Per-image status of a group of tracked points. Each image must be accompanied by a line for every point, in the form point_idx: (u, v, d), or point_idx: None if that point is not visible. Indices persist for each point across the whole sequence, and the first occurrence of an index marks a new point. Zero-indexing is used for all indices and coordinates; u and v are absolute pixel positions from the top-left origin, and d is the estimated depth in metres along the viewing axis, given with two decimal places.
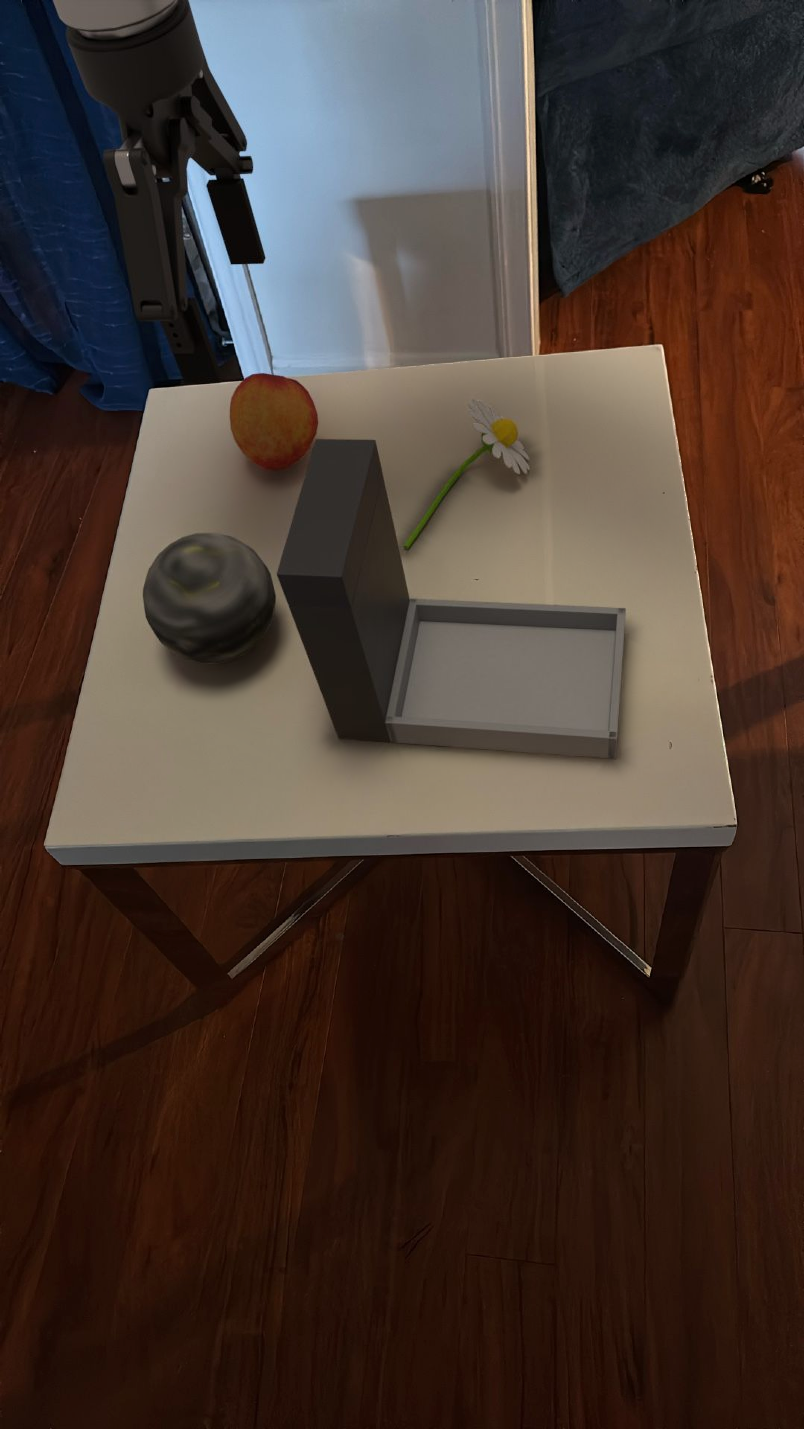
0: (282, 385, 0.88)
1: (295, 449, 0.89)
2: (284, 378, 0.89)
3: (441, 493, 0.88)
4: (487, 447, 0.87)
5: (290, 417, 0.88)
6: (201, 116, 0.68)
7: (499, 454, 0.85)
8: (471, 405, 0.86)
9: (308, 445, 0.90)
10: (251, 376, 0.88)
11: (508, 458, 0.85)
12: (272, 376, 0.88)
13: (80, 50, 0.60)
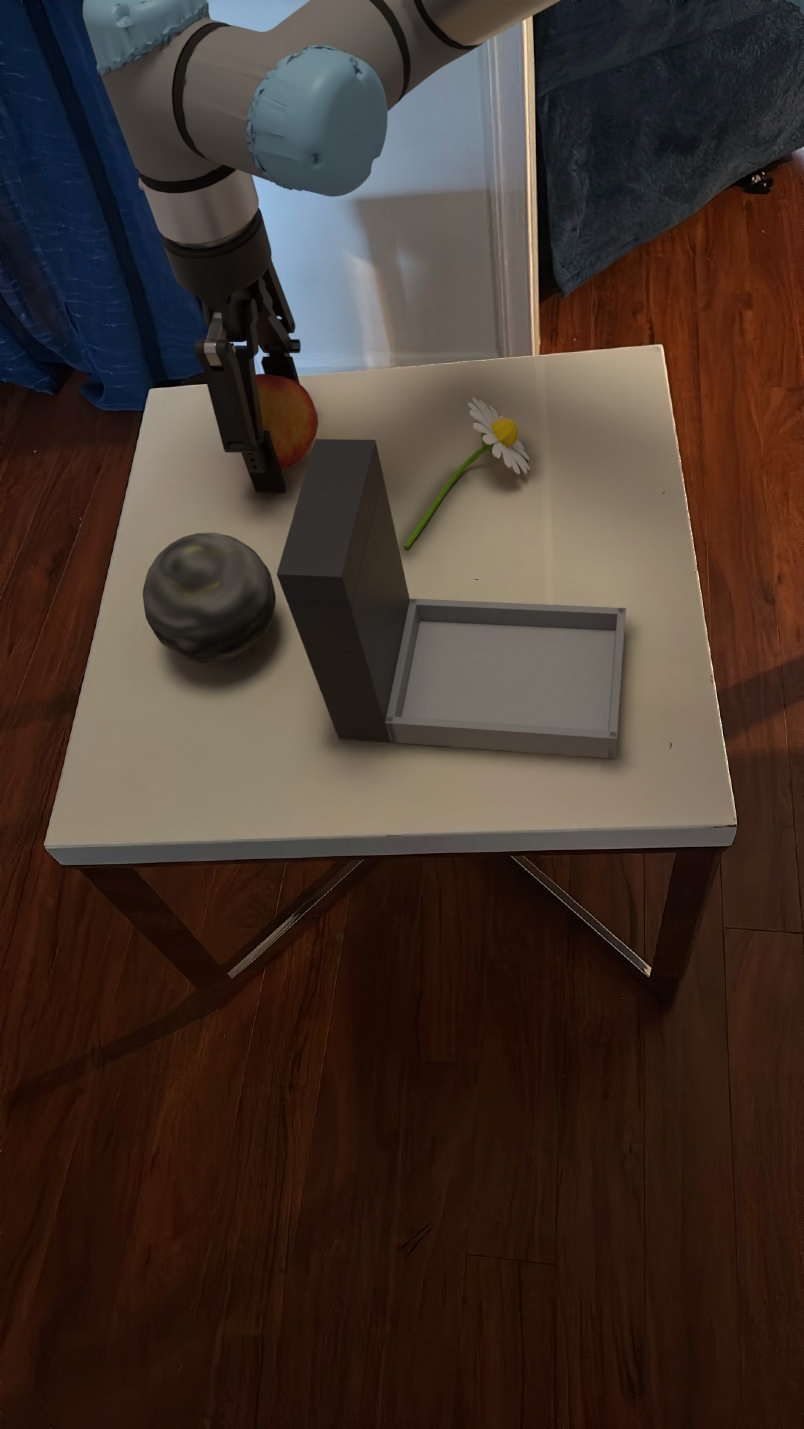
0: (281, 386, 0.88)
1: (295, 450, 0.89)
2: (284, 379, 0.89)
3: (441, 493, 0.88)
4: (487, 447, 0.87)
5: (290, 418, 0.87)
6: (265, 295, 0.82)
7: (499, 454, 0.85)
8: (471, 405, 0.86)
9: (308, 446, 0.90)
10: None
11: (508, 458, 0.85)
12: (272, 377, 0.88)
13: (175, 255, 0.74)
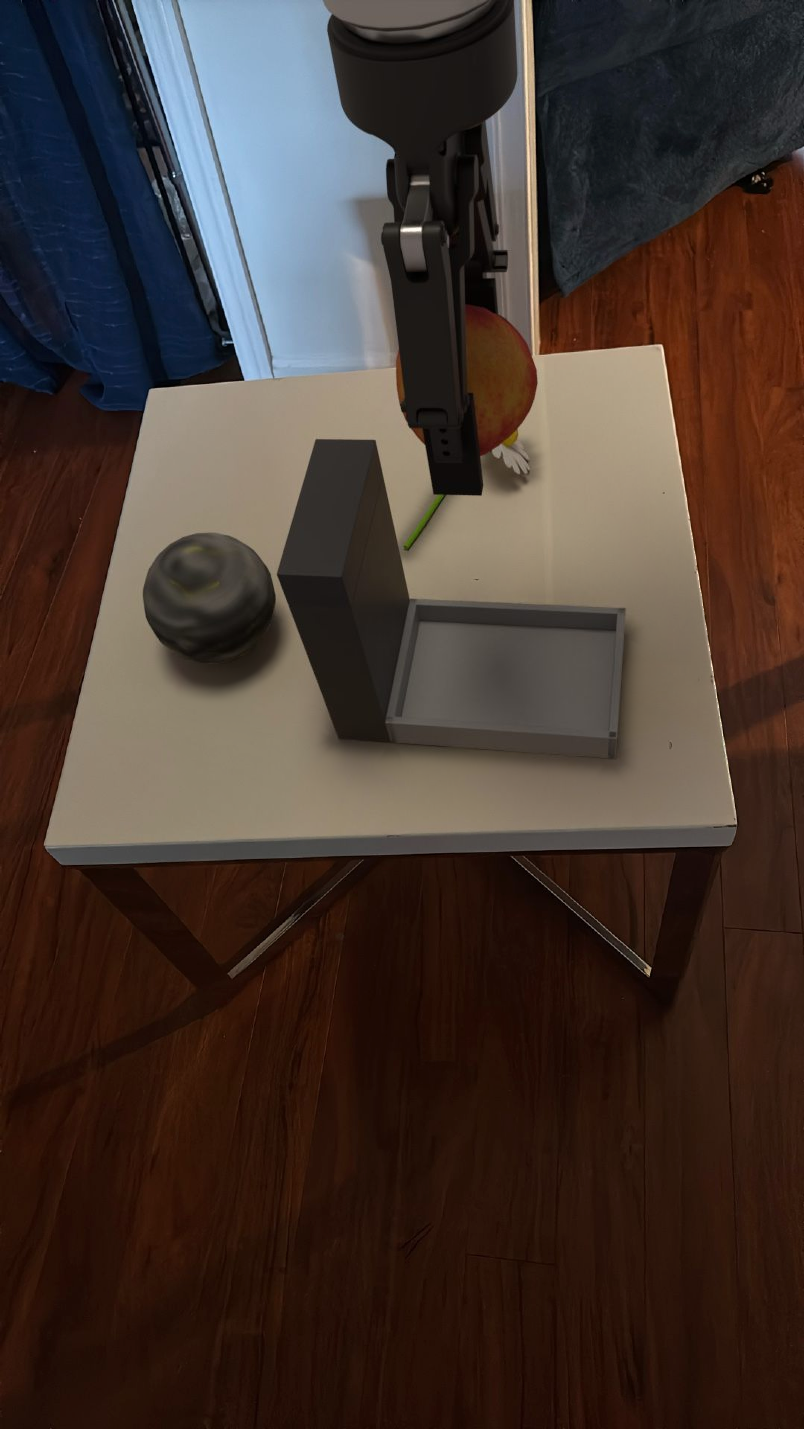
0: (487, 321, 0.54)
1: (504, 426, 0.55)
2: (488, 311, 0.55)
3: None
4: None
5: (501, 373, 0.54)
6: None
7: (499, 454, 0.85)
8: None
9: (522, 420, 0.56)
10: None
11: (508, 458, 0.85)
12: (470, 307, 0.54)
13: (357, 59, 0.40)
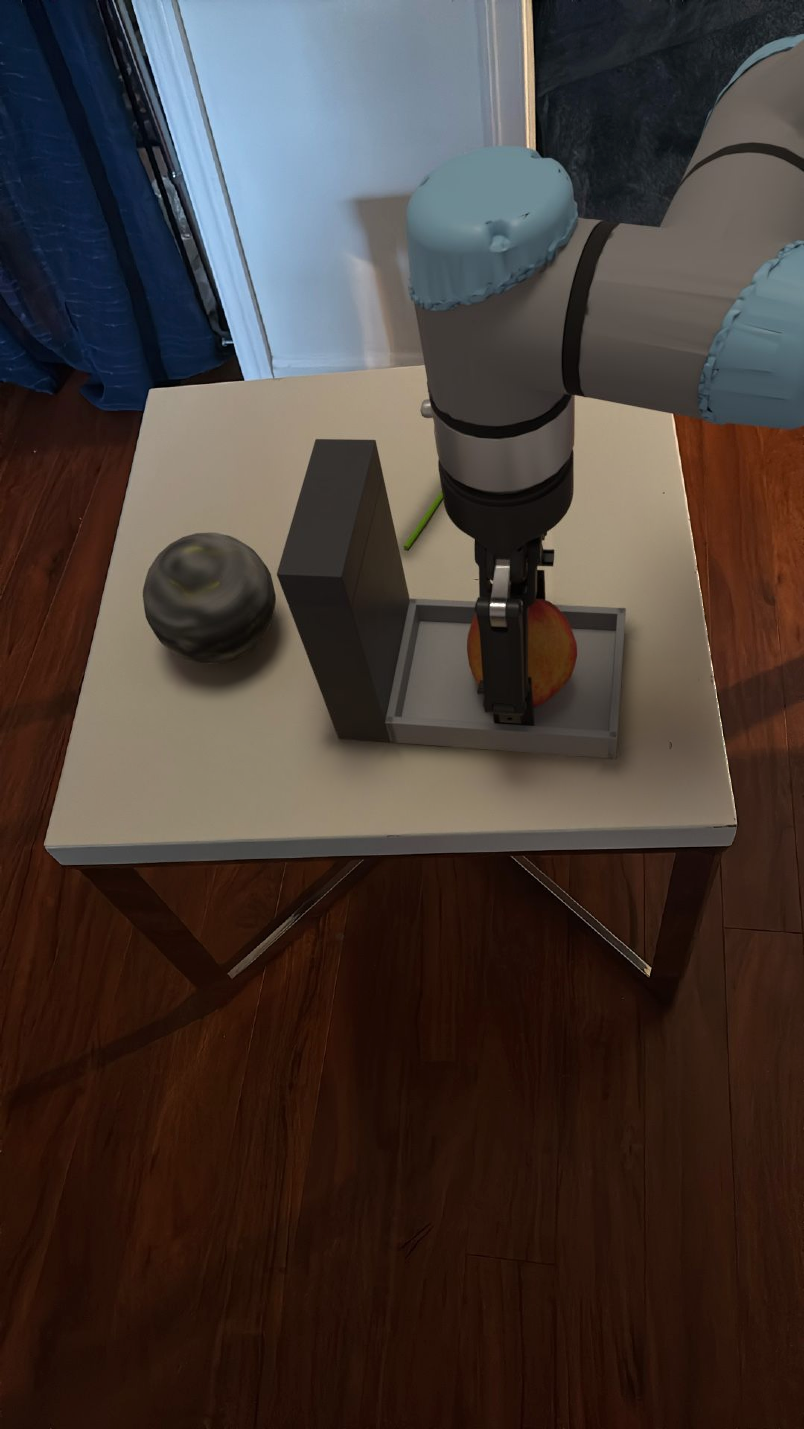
0: (541, 616, 0.70)
1: (553, 691, 0.71)
2: (540, 603, 0.71)
3: (441, 493, 0.88)
4: None
5: (551, 656, 0.70)
6: None
7: None
8: None
9: (565, 682, 0.72)
10: None
11: None
12: None
13: (463, 500, 0.57)
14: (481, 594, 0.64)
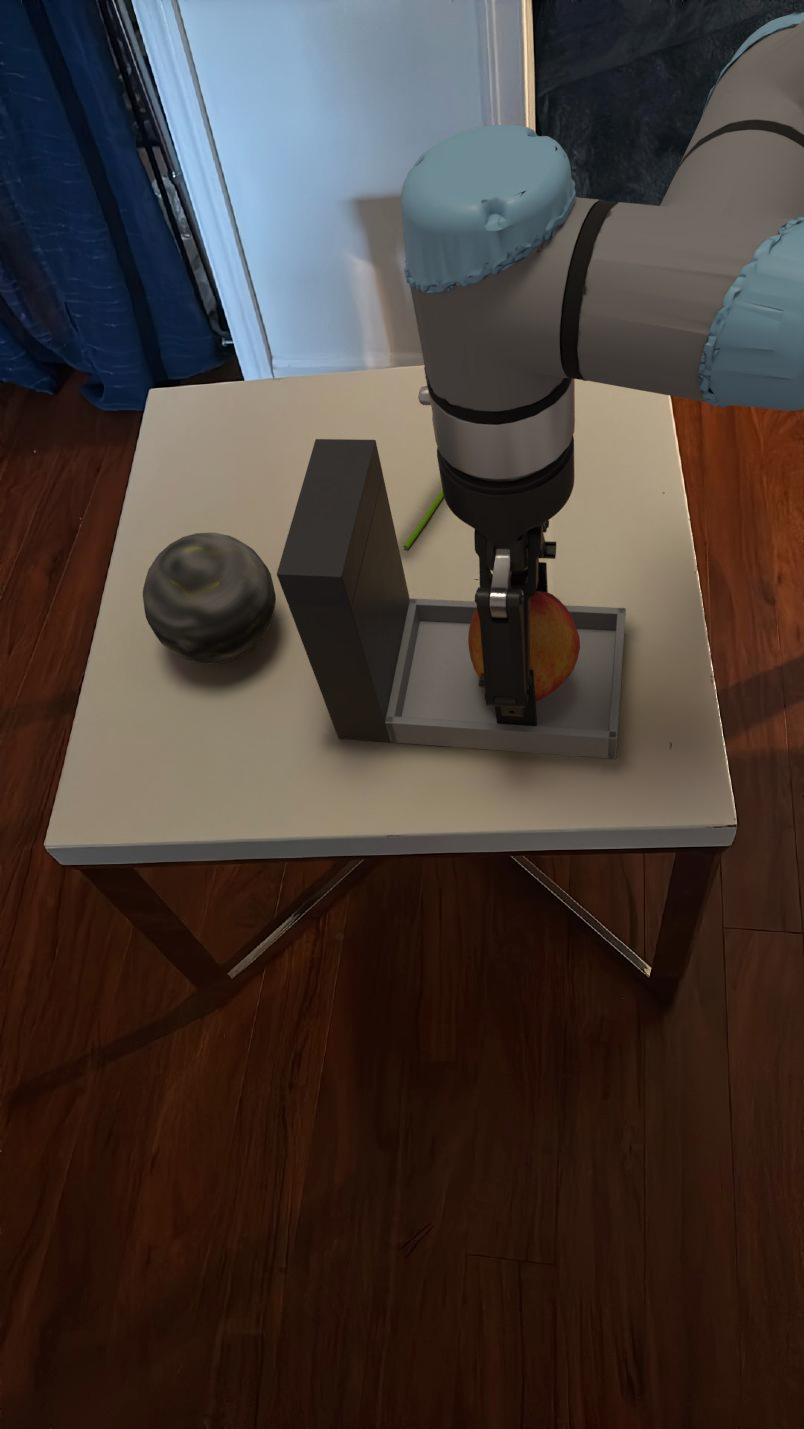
0: (542, 608, 0.69)
1: (555, 684, 0.71)
2: (542, 596, 0.70)
3: (441, 493, 0.88)
4: None
5: (553, 649, 0.69)
6: None
7: None
8: None
9: (568, 676, 0.72)
10: None
11: None
12: None
13: (462, 488, 0.56)
14: (481, 585, 0.63)
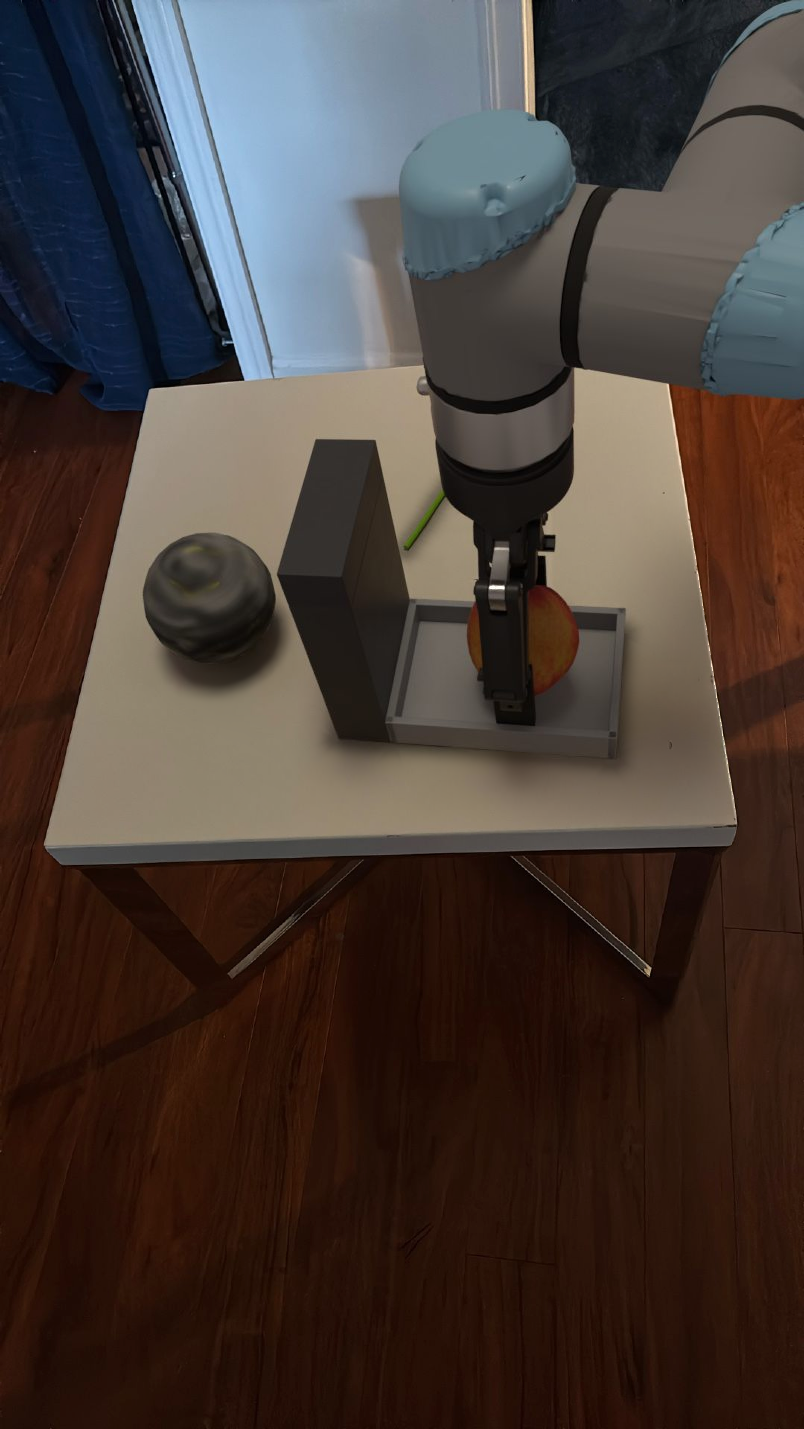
0: (542, 602, 0.69)
1: (554, 679, 0.70)
2: (541, 589, 0.70)
3: (441, 493, 0.88)
4: None
5: (553, 643, 0.69)
6: None
7: None
8: None
9: (567, 670, 0.71)
10: None
11: None
12: None
13: (460, 479, 0.55)
14: (480, 578, 0.62)
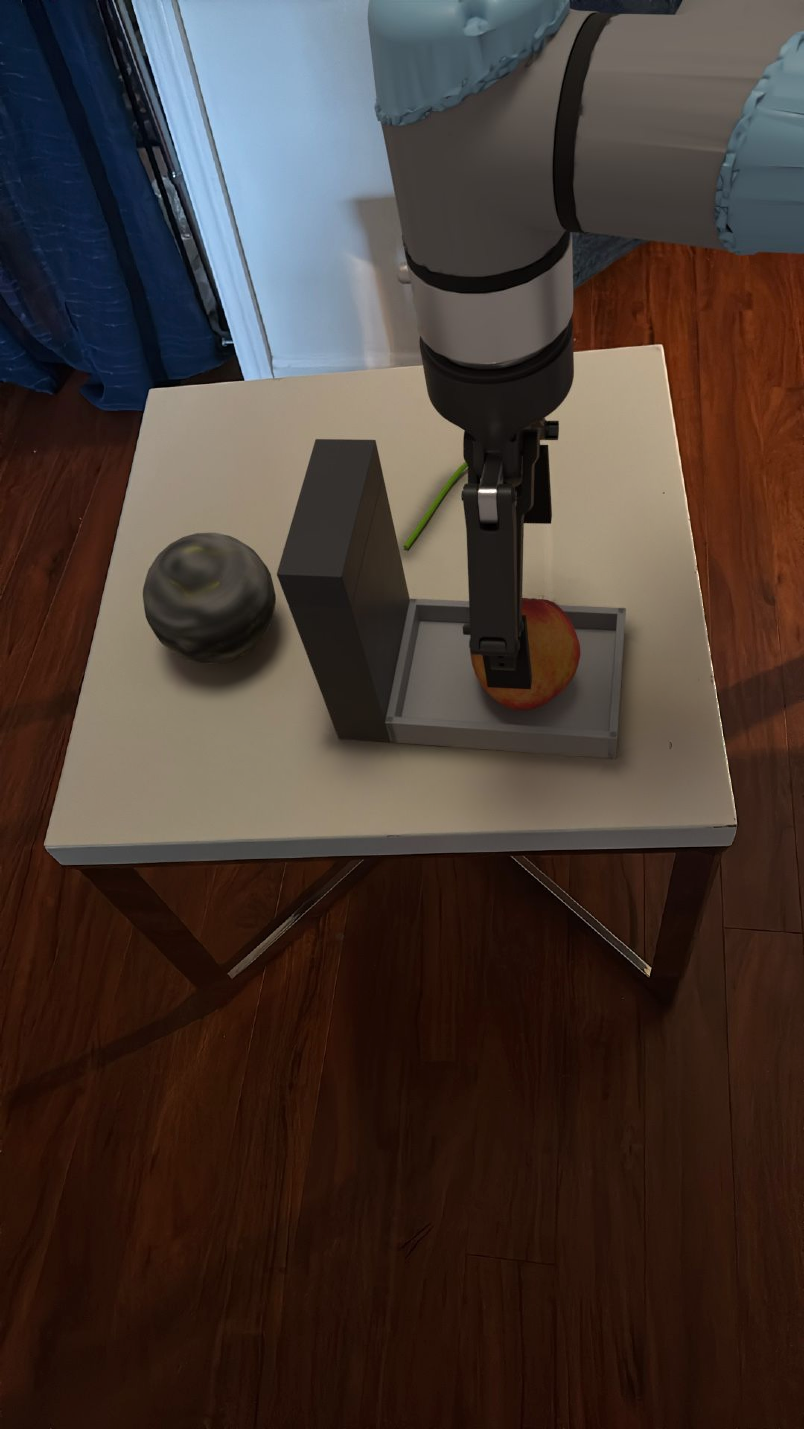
0: (544, 616, 0.70)
1: (556, 691, 0.71)
2: (543, 604, 0.71)
3: (441, 493, 0.88)
4: None
5: (555, 656, 0.70)
6: None
7: None
8: None
9: (568, 683, 0.72)
10: None
11: None
12: (530, 603, 0.71)
13: (447, 378, 0.50)
14: None
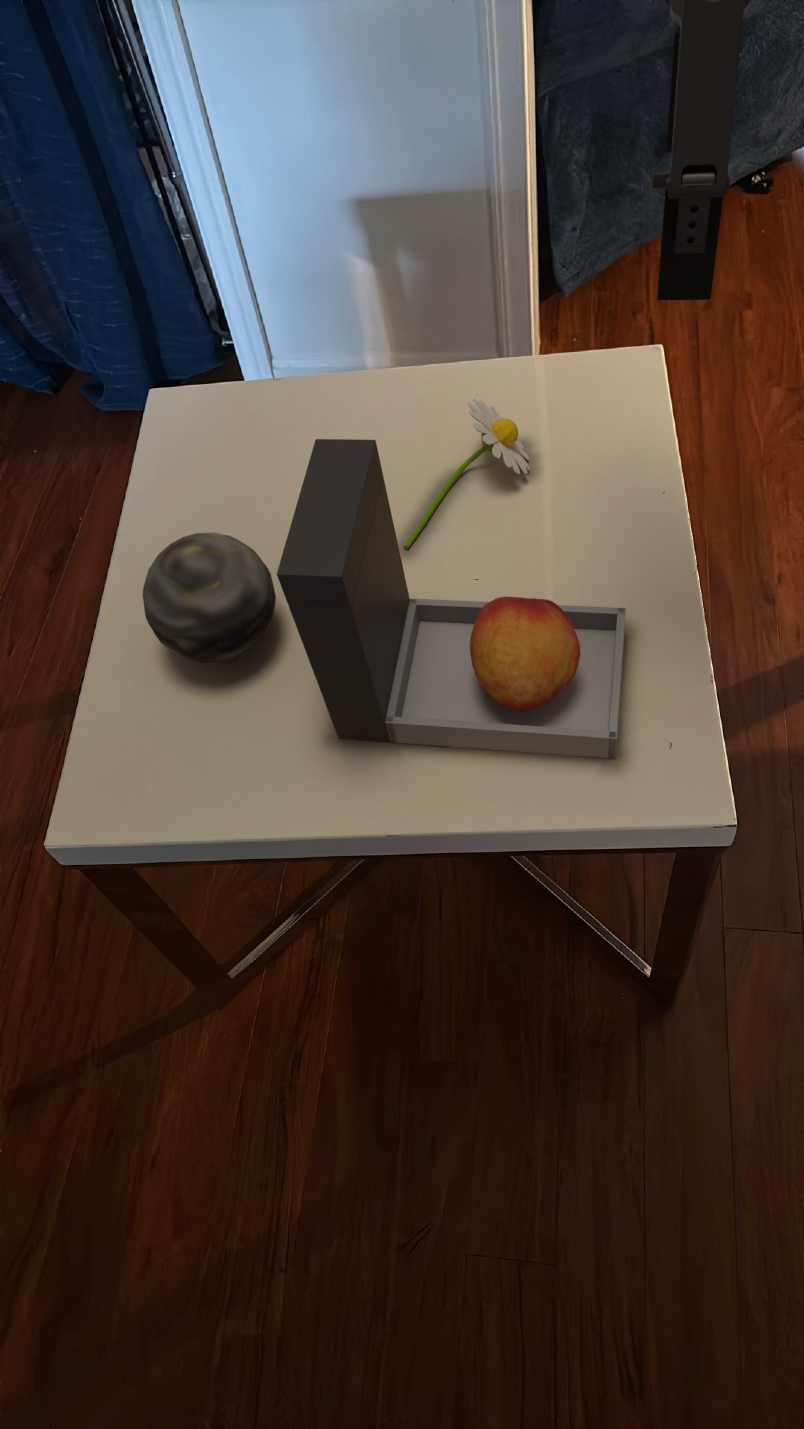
0: (544, 616, 0.70)
1: (556, 691, 0.71)
2: (543, 604, 0.71)
3: (441, 493, 0.88)
4: (487, 447, 0.87)
5: (555, 656, 0.70)
6: None
7: (499, 454, 0.85)
8: (471, 405, 0.86)
9: (568, 683, 0.72)
10: (503, 602, 0.71)
11: (508, 458, 0.85)
12: (530, 603, 0.71)
13: None
14: None
